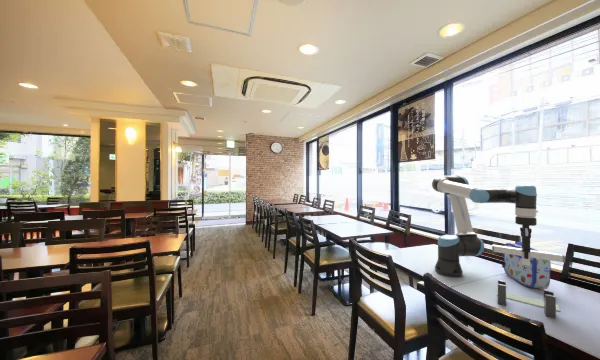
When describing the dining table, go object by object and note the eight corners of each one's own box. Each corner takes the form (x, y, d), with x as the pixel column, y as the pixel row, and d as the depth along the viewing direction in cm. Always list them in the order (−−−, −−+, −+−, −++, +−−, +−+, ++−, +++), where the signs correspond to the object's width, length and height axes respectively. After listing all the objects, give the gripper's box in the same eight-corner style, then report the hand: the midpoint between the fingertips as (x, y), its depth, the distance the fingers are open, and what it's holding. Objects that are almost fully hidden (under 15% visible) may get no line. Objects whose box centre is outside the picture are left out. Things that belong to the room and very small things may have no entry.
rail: (492, 251, 123) (492, 245, 123) (492, 250, 125) (492, 244, 125) (565, 262, 106) (565, 256, 106) (563, 261, 108) (563, 254, 108)
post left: (497, 304, 112) (497, 284, 112) (497, 298, 117) (497, 279, 117) (506, 306, 110) (506, 286, 110) (505, 300, 115) (505, 281, 115)
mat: (496, 296, 120) (496, 295, 120) (496, 291, 125) (496, 290, 125) (560, 311, 106) (560, 310, 106) (557, 305, 111) (557, 304, 111)
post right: (545, 316, 102) (545, 294, 102) (543, 310, 107) (543, 289, 107) (555, 319, 100) (555, 297, 100) (553, 312, 105) (553, 291, 105)
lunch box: (498, 271, 152) (498, 238, 151) (517, 273, 149) (517, 238, 149) (531, 291, 125) (531, 250, 125) (554, 293, 123) (554, 251, 123)
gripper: (538, 219, 107) (538, 270, 107) (534, 215, 119) (534, 261, 119) (516, 217, 112) (516, 266, 112) (514, 214, 124) (514, 258, 124)
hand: (525, 263), depth 115 cm, fingers closed on rail, 3 cm apart
